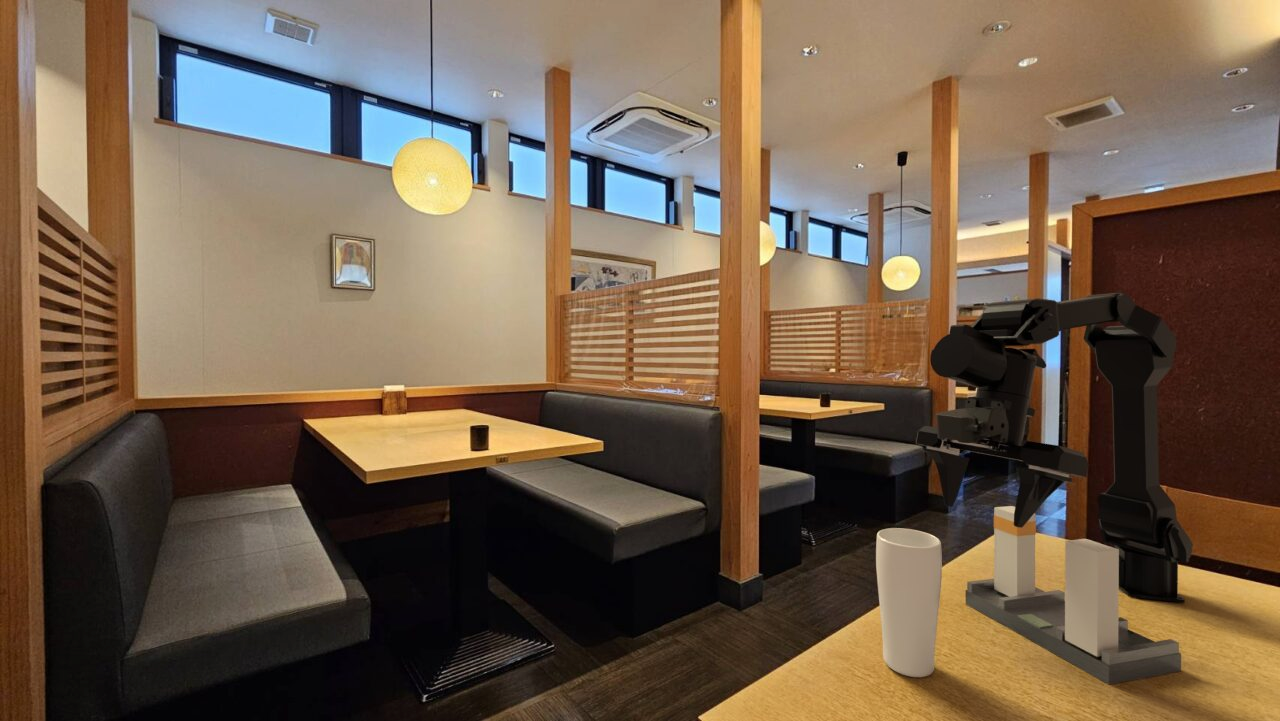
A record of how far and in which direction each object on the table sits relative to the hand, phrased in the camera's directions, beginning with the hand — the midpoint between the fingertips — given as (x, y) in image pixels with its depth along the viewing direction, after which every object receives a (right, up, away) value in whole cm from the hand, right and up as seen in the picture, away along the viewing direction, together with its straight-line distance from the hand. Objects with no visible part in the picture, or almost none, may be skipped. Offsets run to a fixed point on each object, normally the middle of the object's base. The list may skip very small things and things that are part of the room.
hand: (981, 515), depth 68 cm
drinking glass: (-12, -16, -6) cm, 21 cm away
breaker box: (+11, -15, +1) cm, 19 cm away
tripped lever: (+9, -13, +7) cm, 17 cm away
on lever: (+9, -13, -6) cm, 17 cm away
